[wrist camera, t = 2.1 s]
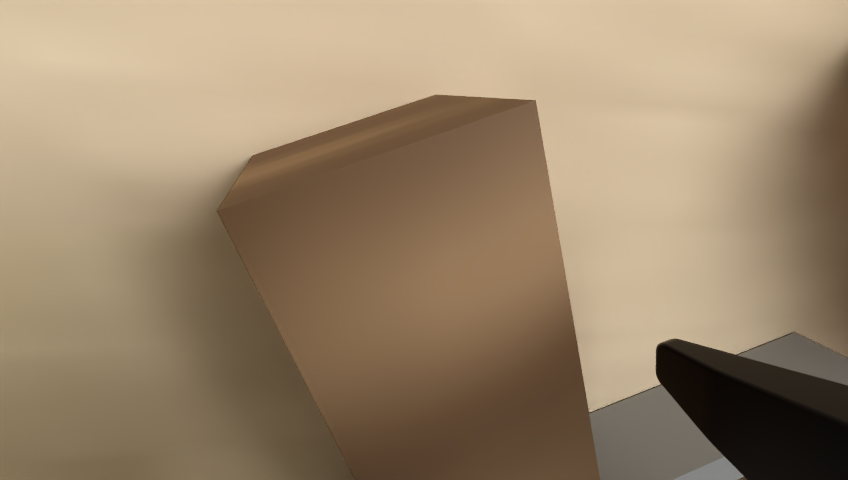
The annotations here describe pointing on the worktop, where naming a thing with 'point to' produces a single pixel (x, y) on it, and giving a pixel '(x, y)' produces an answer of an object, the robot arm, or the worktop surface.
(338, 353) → the board
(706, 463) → the frame
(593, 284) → the worktop surface
